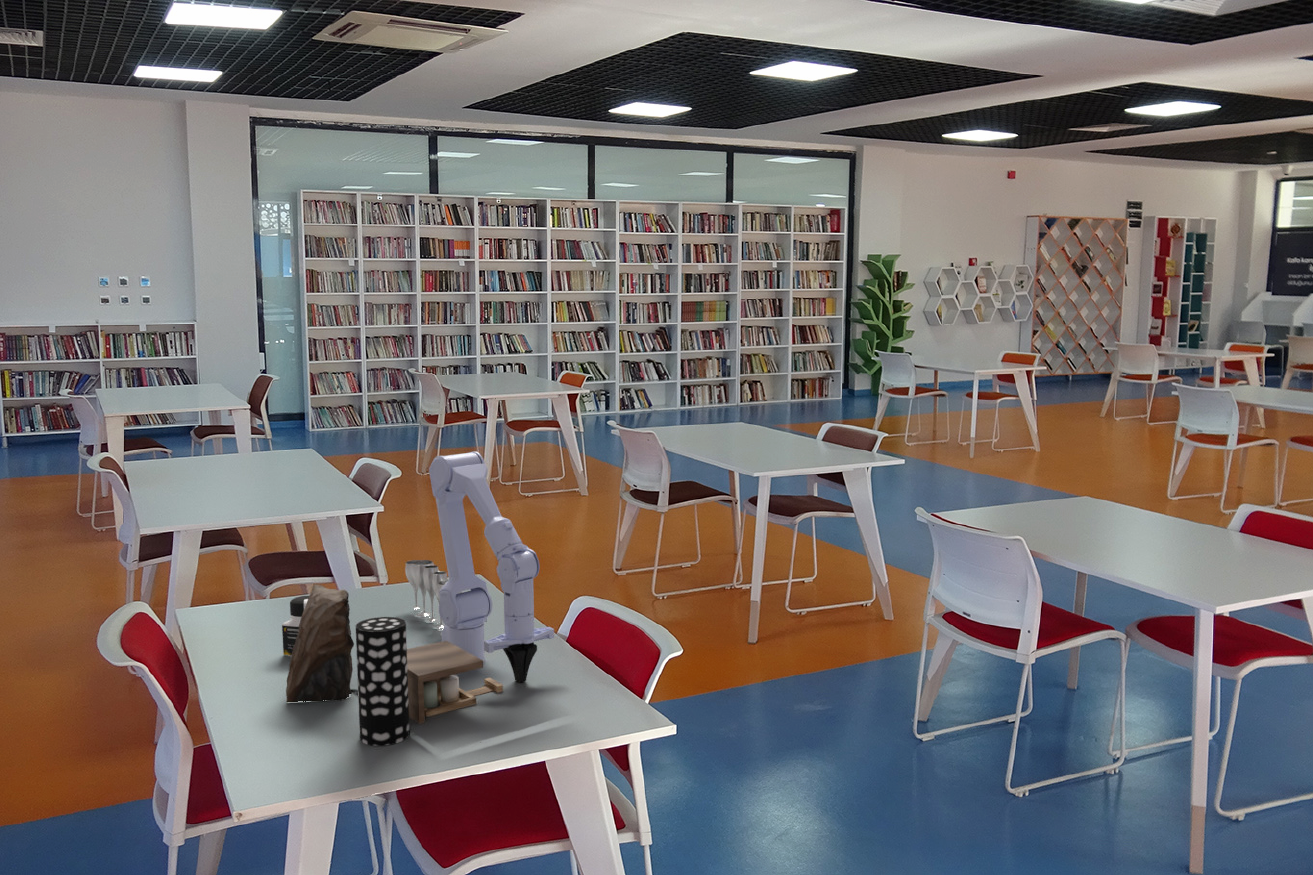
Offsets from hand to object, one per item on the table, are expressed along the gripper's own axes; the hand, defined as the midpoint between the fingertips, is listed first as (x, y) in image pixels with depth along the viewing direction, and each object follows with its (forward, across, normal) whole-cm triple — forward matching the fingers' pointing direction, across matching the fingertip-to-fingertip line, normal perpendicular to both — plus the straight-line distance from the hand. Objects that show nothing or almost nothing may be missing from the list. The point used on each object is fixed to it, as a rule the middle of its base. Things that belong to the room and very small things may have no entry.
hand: (520, 680), depth 205 cm
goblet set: (+2, +5, +49) cm, 50 cm away
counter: (+1, -18, 0) cm, 18 cm away
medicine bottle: (+1, -26, +46) cm, 53 cm away
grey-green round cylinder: (0, -20, 0) cm, 20 cm away
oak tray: (+1, -14, 0) cm, 14 cm away
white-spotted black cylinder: (+1, -31, -6) cm, 31 cm away
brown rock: (+1, -33, +21) cm, 39 cm away
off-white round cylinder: (0, -15, 0) cm, 15 cm away
